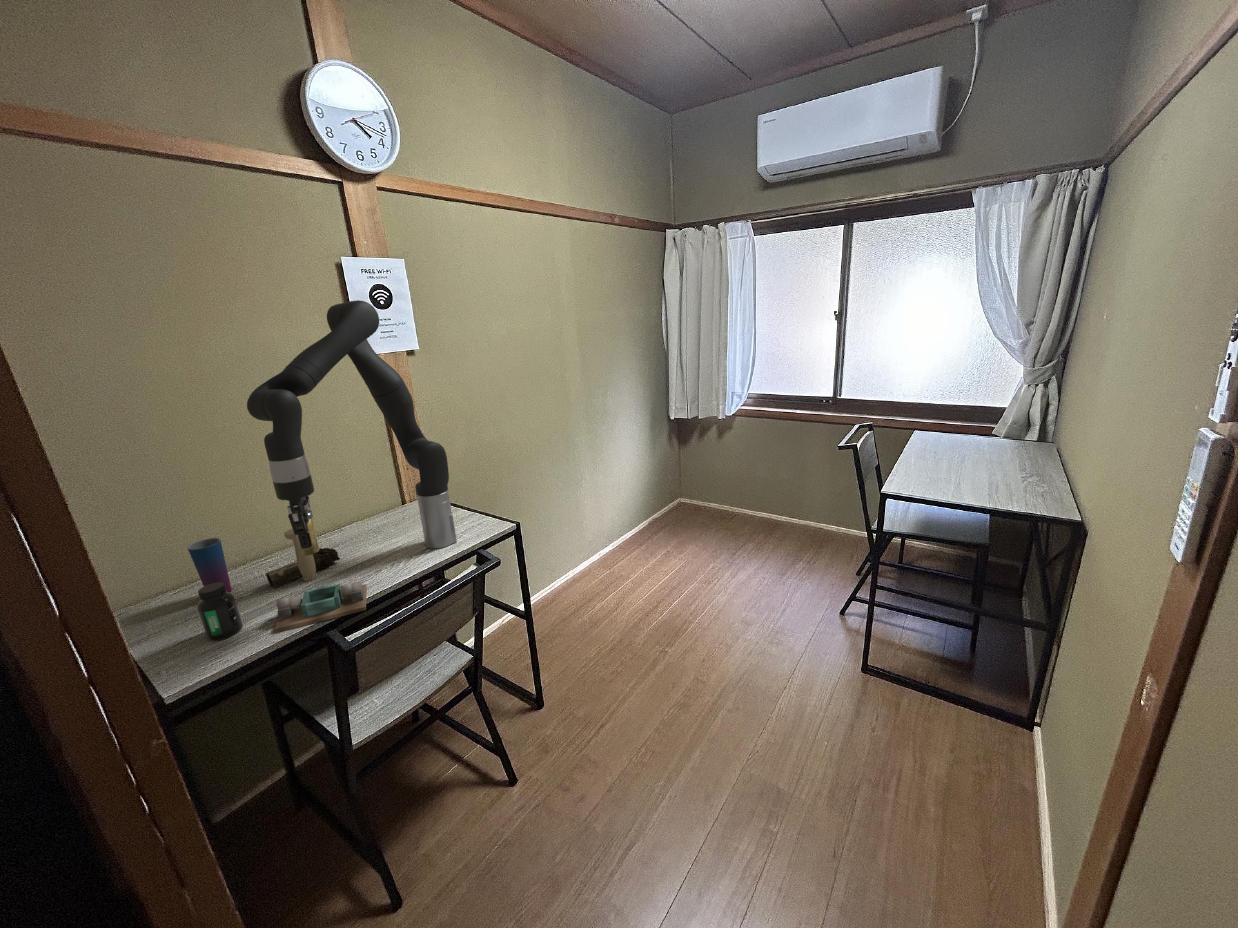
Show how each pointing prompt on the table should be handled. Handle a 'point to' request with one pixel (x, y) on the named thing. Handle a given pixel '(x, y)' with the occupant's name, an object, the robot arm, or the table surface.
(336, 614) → the shaft bench
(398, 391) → the robot arm
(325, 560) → the dark brown elongated piece
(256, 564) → the table surface
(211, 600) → the supplement bottle
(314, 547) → the cylinder
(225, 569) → the cup
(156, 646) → the table surface
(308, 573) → the handle
